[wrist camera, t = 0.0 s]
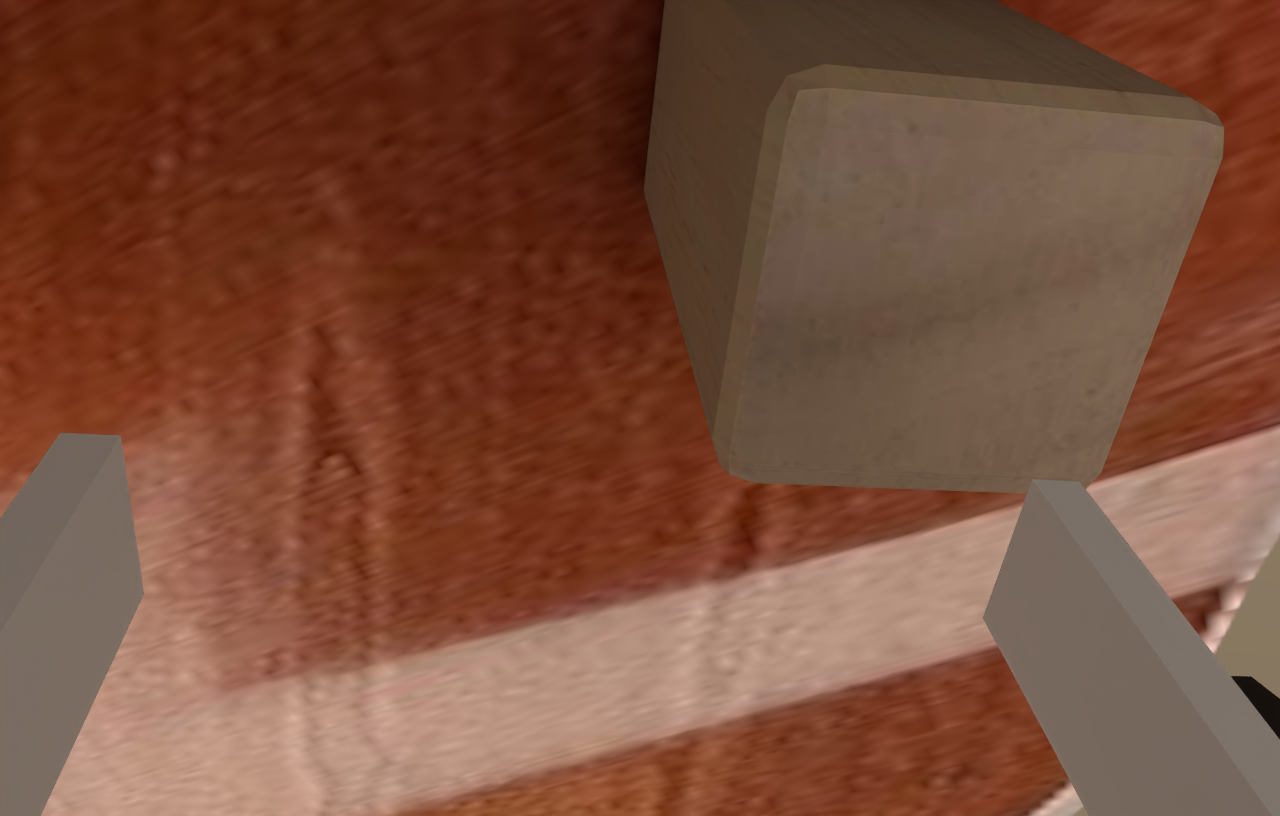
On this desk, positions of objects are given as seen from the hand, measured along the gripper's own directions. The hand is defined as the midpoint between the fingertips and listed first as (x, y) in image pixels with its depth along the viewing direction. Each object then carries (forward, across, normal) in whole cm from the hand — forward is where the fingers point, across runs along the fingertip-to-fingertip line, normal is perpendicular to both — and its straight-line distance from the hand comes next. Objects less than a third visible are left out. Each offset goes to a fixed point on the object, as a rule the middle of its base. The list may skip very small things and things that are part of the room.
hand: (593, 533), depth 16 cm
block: (+28, +9, 0) cm, 30 cm away
